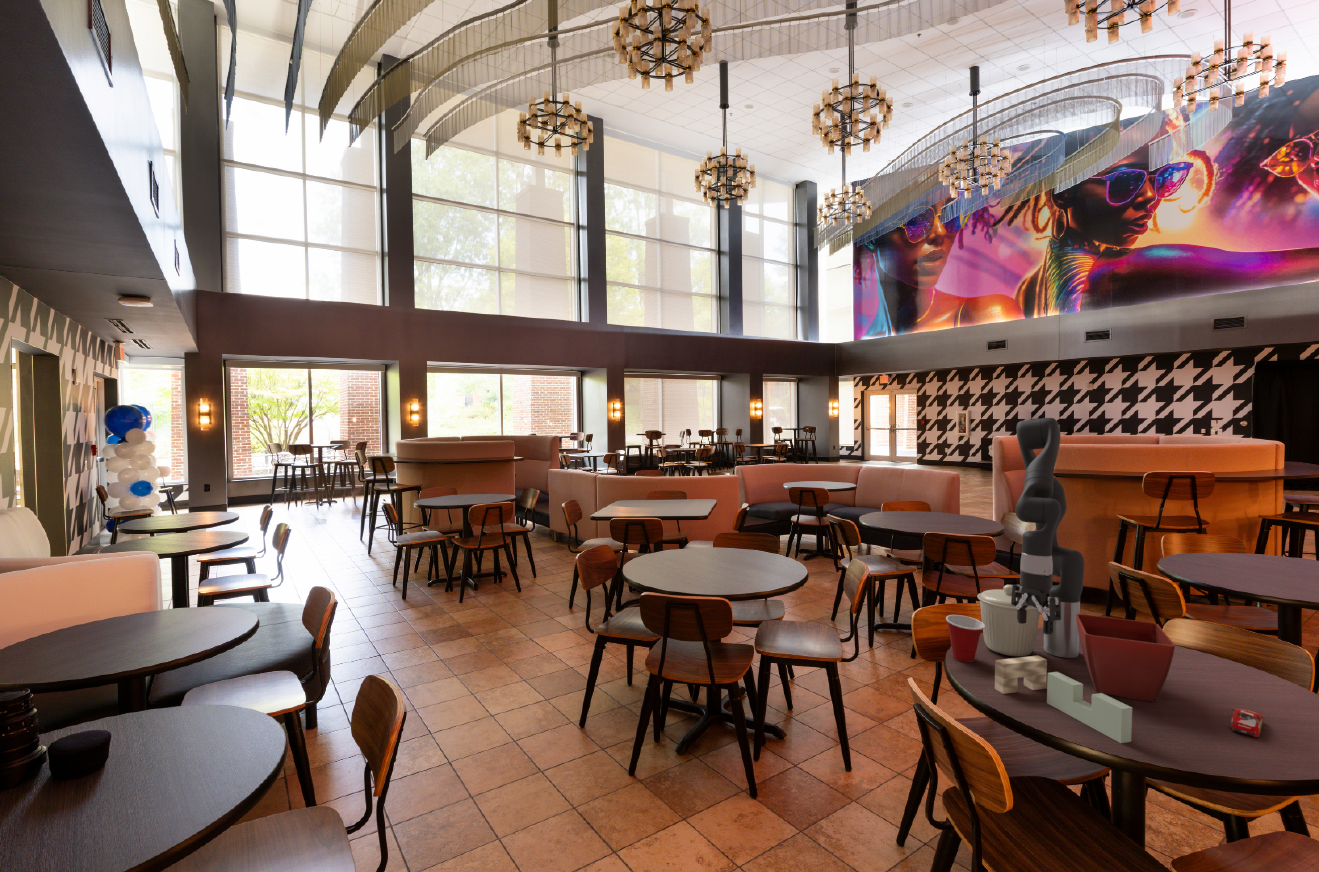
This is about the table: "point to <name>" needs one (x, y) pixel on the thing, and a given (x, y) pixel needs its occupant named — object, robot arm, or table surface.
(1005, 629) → the canister
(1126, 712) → the notched board
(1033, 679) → the slotted plate
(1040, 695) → the table surface
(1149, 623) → the plant pot
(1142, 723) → the table surface
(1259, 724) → the race car
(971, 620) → the plastic cup
